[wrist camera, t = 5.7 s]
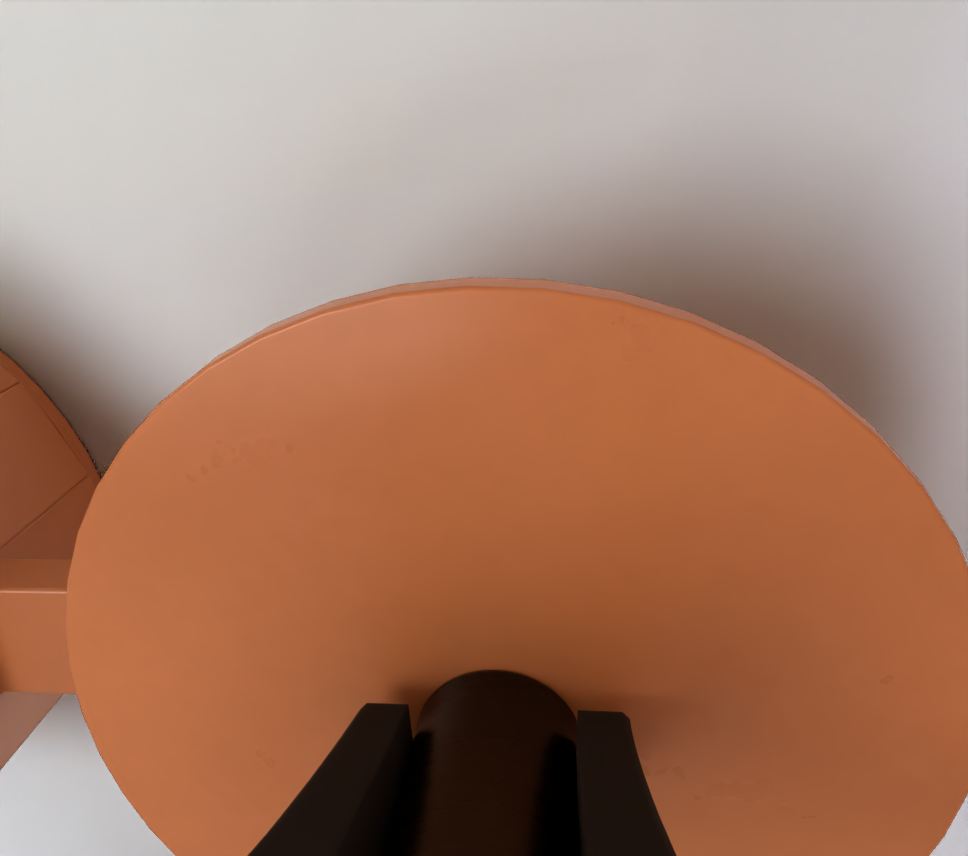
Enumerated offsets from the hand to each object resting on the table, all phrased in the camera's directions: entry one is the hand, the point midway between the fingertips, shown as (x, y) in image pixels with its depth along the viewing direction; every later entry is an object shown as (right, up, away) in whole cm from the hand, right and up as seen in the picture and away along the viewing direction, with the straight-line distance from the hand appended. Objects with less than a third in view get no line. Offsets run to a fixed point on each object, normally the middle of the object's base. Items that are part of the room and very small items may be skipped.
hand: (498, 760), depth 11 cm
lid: (0, 0, +1) cm, 1 cm away
